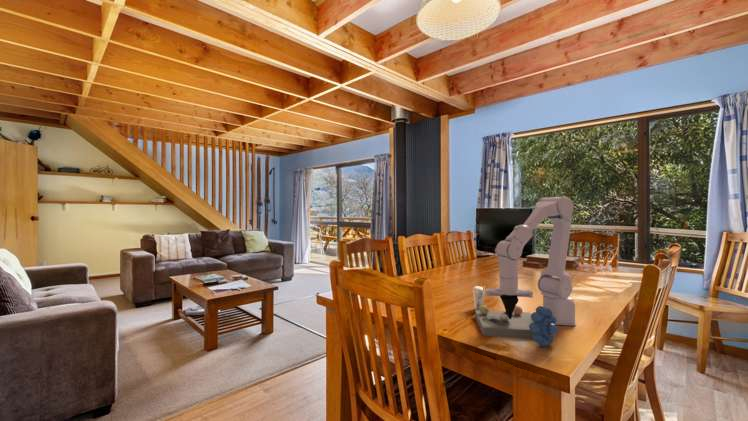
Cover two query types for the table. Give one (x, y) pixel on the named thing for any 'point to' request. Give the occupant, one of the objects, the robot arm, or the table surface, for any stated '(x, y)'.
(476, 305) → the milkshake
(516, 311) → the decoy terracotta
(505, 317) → the steel ball
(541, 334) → the grapes
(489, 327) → the board
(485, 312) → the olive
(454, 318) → the table surface
